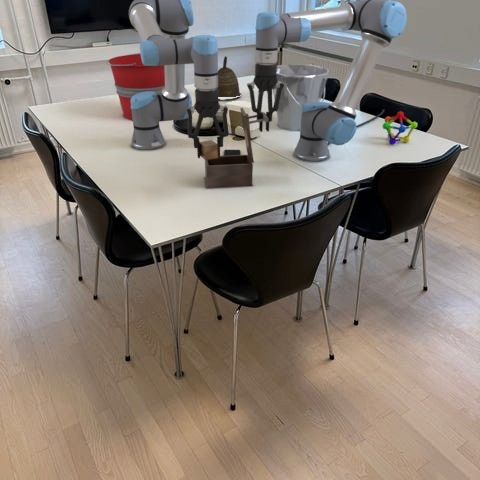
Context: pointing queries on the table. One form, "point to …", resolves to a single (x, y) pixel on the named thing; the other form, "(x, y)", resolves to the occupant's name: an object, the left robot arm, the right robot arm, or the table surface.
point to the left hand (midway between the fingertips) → (208, 156)
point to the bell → (227, 82)
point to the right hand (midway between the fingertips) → (264, 130)
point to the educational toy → (398, 128)
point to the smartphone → (231, 152)
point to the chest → (228, 171)
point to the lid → (246, 130)
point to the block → (208, 150)
